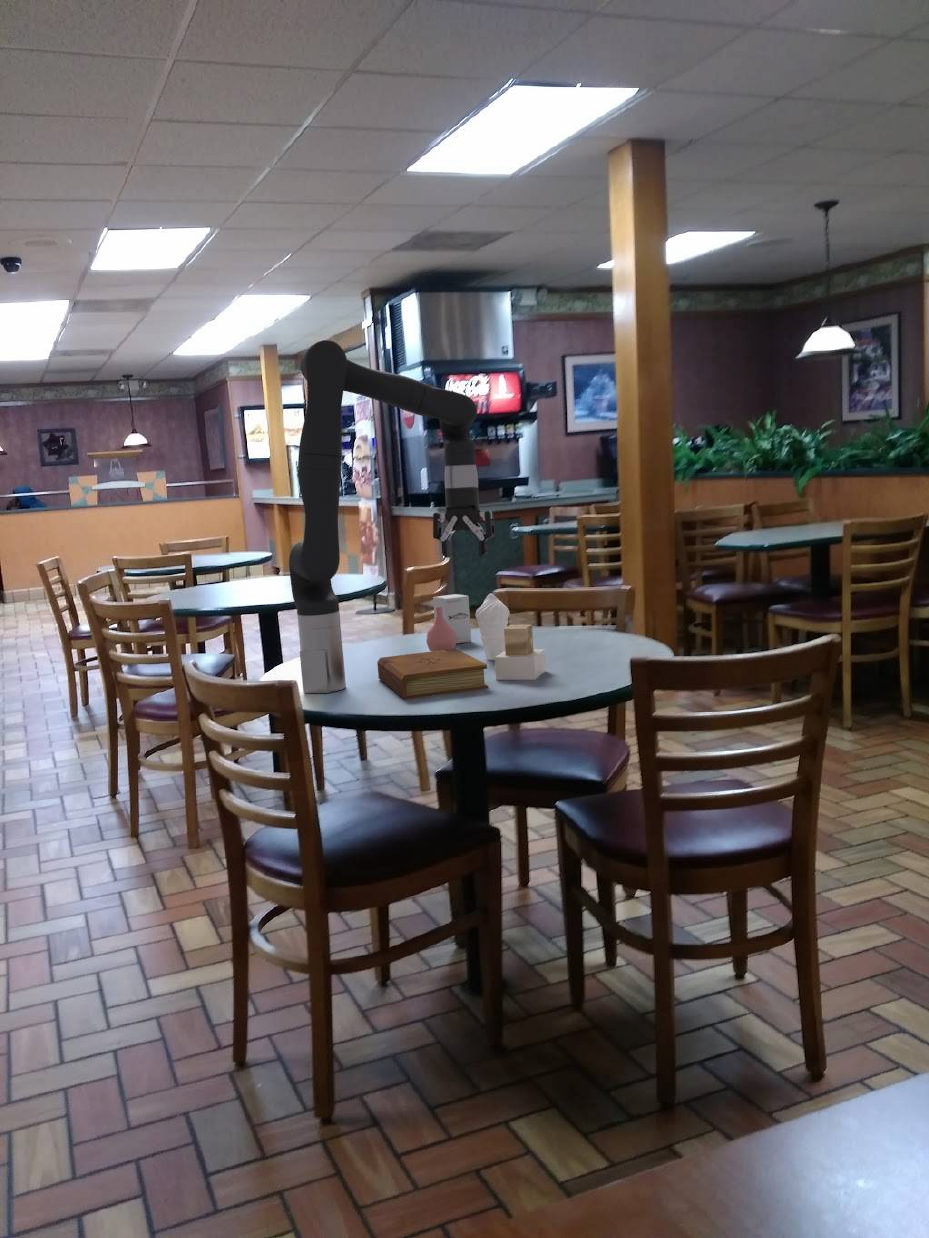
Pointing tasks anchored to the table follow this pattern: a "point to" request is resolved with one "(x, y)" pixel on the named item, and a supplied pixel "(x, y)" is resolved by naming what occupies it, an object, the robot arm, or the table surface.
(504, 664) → the plinth
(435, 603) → the supplement box
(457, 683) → the diary
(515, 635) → the oak block
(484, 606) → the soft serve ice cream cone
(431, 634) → the pink vase
